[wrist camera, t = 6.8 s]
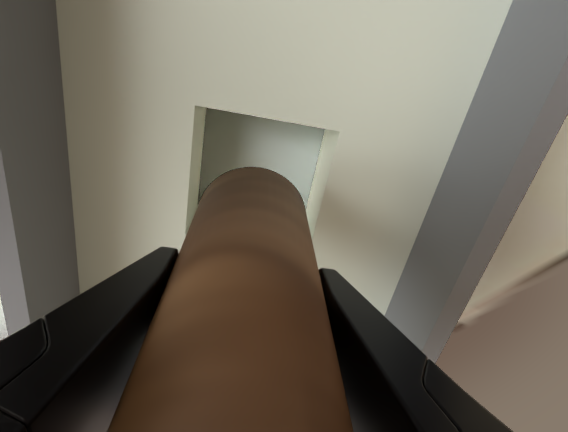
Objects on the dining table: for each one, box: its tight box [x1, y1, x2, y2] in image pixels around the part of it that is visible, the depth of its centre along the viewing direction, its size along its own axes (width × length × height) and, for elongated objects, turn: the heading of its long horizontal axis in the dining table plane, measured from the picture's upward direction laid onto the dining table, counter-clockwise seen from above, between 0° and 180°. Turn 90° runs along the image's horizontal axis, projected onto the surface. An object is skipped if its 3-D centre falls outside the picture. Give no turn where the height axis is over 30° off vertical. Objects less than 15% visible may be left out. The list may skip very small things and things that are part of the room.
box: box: [0, 0, 568, 363], centre depth 14 cm, size 16×22×6 cm
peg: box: [107, 167, 353, 432], centre depth 7 cm, size 4×4×10 cm
